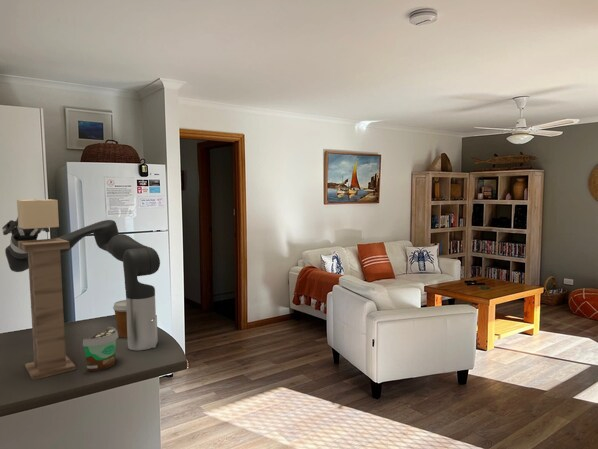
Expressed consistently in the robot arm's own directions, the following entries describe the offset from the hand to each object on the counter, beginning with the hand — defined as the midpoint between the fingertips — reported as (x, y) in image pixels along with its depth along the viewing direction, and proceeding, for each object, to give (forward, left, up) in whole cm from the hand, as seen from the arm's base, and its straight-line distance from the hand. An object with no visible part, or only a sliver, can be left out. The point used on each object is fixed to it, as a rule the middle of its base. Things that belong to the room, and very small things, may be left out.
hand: (30, 216), depth 141 cm
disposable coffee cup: (-26, -11, -45) cm, 53 cm away
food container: (-25, +17, -45) cm, 54 cm away
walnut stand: (-9, +16, -44) cm, 48 cm away
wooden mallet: (-3, +5, -2) cm, 7 cm away
